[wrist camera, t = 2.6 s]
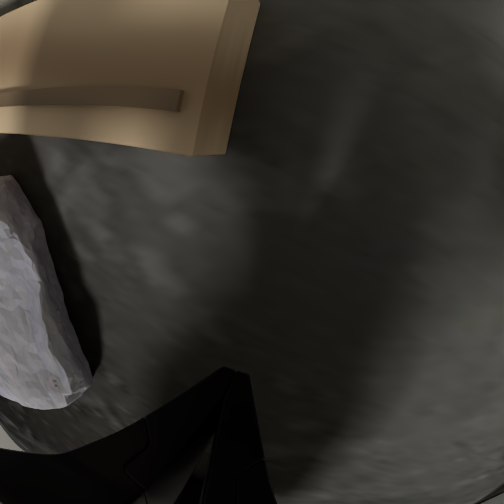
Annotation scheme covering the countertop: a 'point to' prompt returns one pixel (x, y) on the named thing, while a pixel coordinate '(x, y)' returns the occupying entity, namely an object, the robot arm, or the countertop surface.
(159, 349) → the countertop surface
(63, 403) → the stone block
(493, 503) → the skincare box
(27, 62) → the wooden grooved rail
